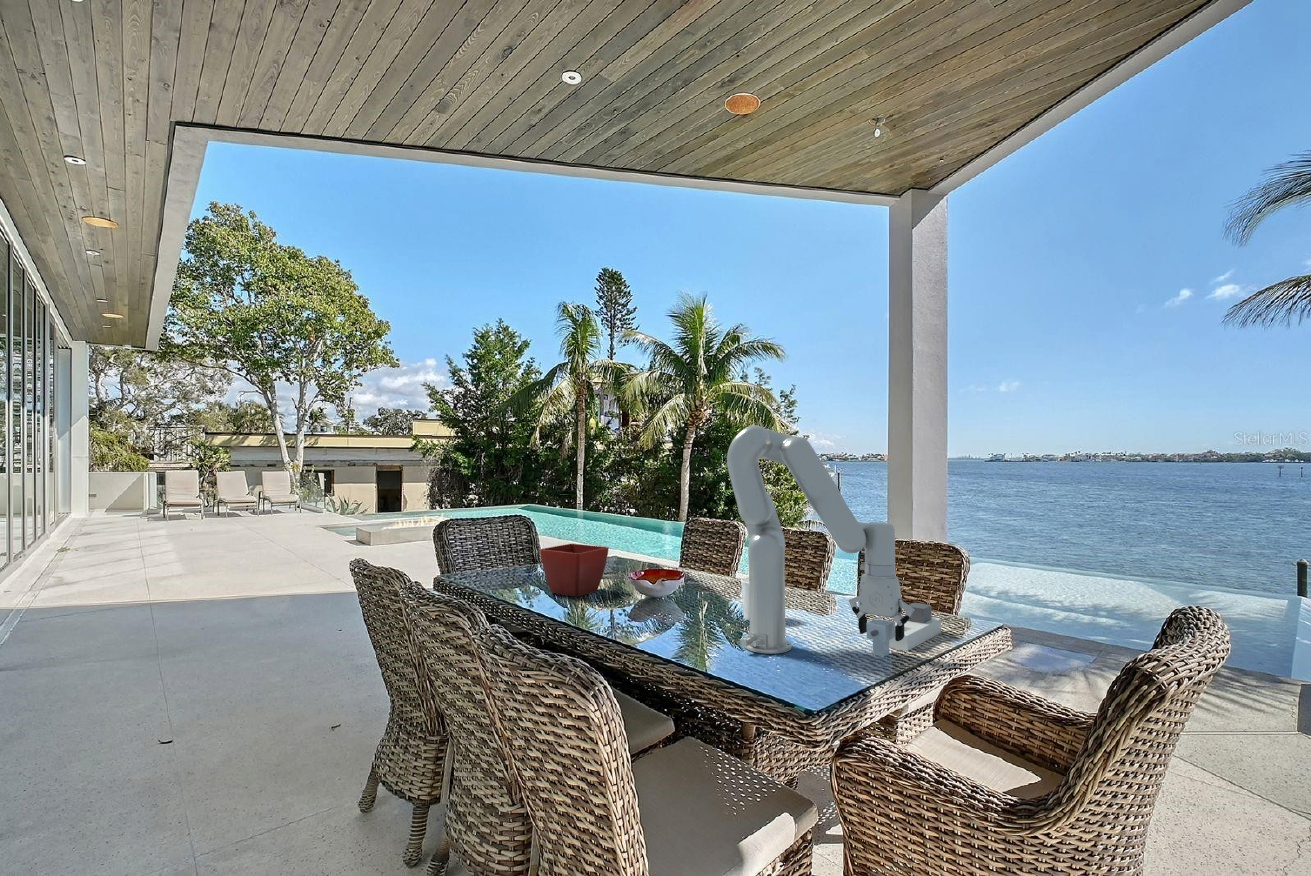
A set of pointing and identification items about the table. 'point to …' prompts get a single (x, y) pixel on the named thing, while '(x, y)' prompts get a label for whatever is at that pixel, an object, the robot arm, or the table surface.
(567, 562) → the plant pot
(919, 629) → the power strip
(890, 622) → the grey plug
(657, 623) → the table surface
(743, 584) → the candle holder
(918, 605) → the dark grey block
